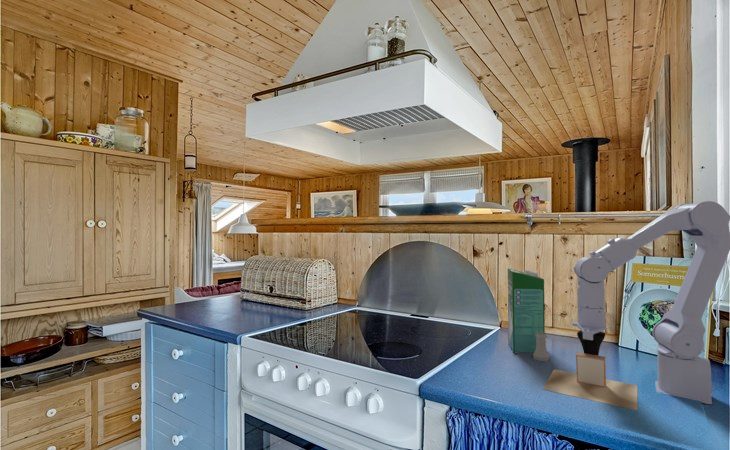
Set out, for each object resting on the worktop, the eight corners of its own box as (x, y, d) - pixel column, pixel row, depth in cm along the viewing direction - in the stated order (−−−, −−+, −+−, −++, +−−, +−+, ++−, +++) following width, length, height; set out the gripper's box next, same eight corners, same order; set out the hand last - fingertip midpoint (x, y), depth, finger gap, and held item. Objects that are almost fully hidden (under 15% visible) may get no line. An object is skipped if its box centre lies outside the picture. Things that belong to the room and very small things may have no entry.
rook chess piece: (529, 359, 110) (528, 331, 110) (541, 356, 112) (540, 329, 112) (541, 364, 106) (541, 335, 106) (553, 362, 108) (553, 333, 108)
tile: (606, 384, 90) (605, 356, 89) (605, 387, 89) (605, 359, 88) (577, 378, 94) (576, 352, 93) (576, 381, 92) (575, 354, 91)
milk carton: (545, 354, 114) (544, 271, 114) (513, 353, 115) (512, 271, 116) (537, 345, 122) (536, 268, 123) (508, 344, 124) (507, 267, 124)
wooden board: (637, 387, 90) (637, 385, 90) (637, 413, 78) (637, 410, 78) (554, 371, 101) (554, 369, 101) (542, 391, 88) (542, 389, 88)
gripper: (576, 299, 100) (576, 351, 100) (567, 309, 89) (568, 367, 89) (607, 302, 96) (608, 356, 96) (603, 313, 85) (603, 374, 84)
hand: (591, 362), depth 92 cm, fingers closed
